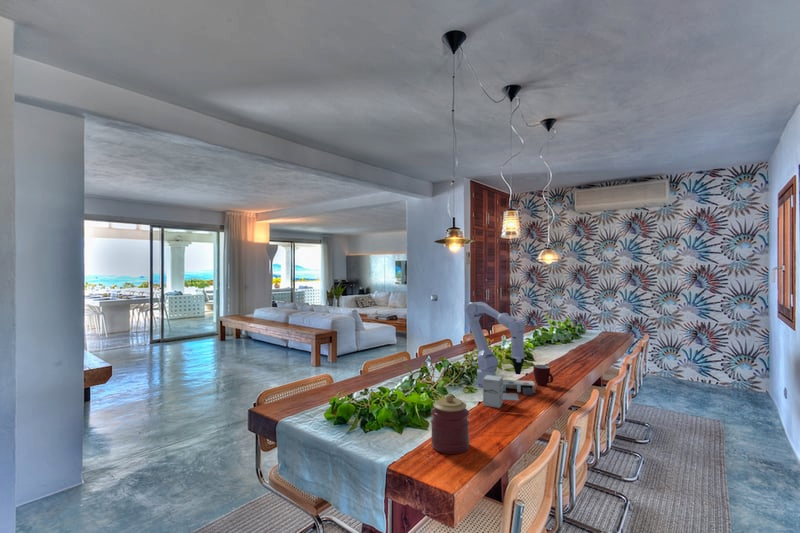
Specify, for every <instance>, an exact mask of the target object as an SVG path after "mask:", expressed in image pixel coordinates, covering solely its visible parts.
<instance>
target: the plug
mask: <svg viewBox="0 0 800 533" xmlns="http://www.w3.org/2000/svg"><path fill="white" fill-rule="evenodd" d="M521 393H522V394H523V396H533V394H534V393H533V390H532V388H531V387H530V386H528V385H521Z"/></svg>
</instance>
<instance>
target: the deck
mask: <svg viewBox="0 0 800 533" xmlns="http://www.w3.org/2000/svg"><path fill="white" fill-rule="evenodd" d="M503 401H517V402H519V401H520V399H519V395H518V393H512V392H503Z"/></svg>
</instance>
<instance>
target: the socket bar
mask: <svg viewBox="0 0 800 533" xmlns="http://www.w3.org/2000/svg"><path fill="white" fill-rule="evenodd" d="M535 383H536V382H535V380H534V381H532V380H519V379H517V380H514V379H513V380H512V379H503V392H507V389H512V390H513V389H515V390H516V392H517V393H522V391H521V385H528V386H530V387H531V388H532V390H533V394H536V384H535Z"/></svg>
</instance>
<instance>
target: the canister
mask: <svg viewBox="0 0 800 533" xmlns="http://www.w3.org/2000/svg"><path fill="white" fill-rule="evenodd" d="M432 405H433V407H432V408H431V410H430V414H431V415H432V416H431V417H432V418H431V419H430V423H431V438H430V440H431V442H430V443H431V446H432V448H433V449H434V450H435V451H436V452H438V453H441V454H446V455H459V454H463V453H465V452H466V451H468V449H469V447H470V437H469V436H470V432H469V431H470V430H469V429H470V428H469V425H470V421H469V419H468V416H469V414H470V412H469V410H468V409H467V404H466V403H465V402H464V401H463V400H461V399H459V398H456V397H454V396H453V395H452V394H450V393H448V394H447V395H446V396H445V397H441V398H439V399H438V400H435V401H434V402H433V404H432Z"/></svg>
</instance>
